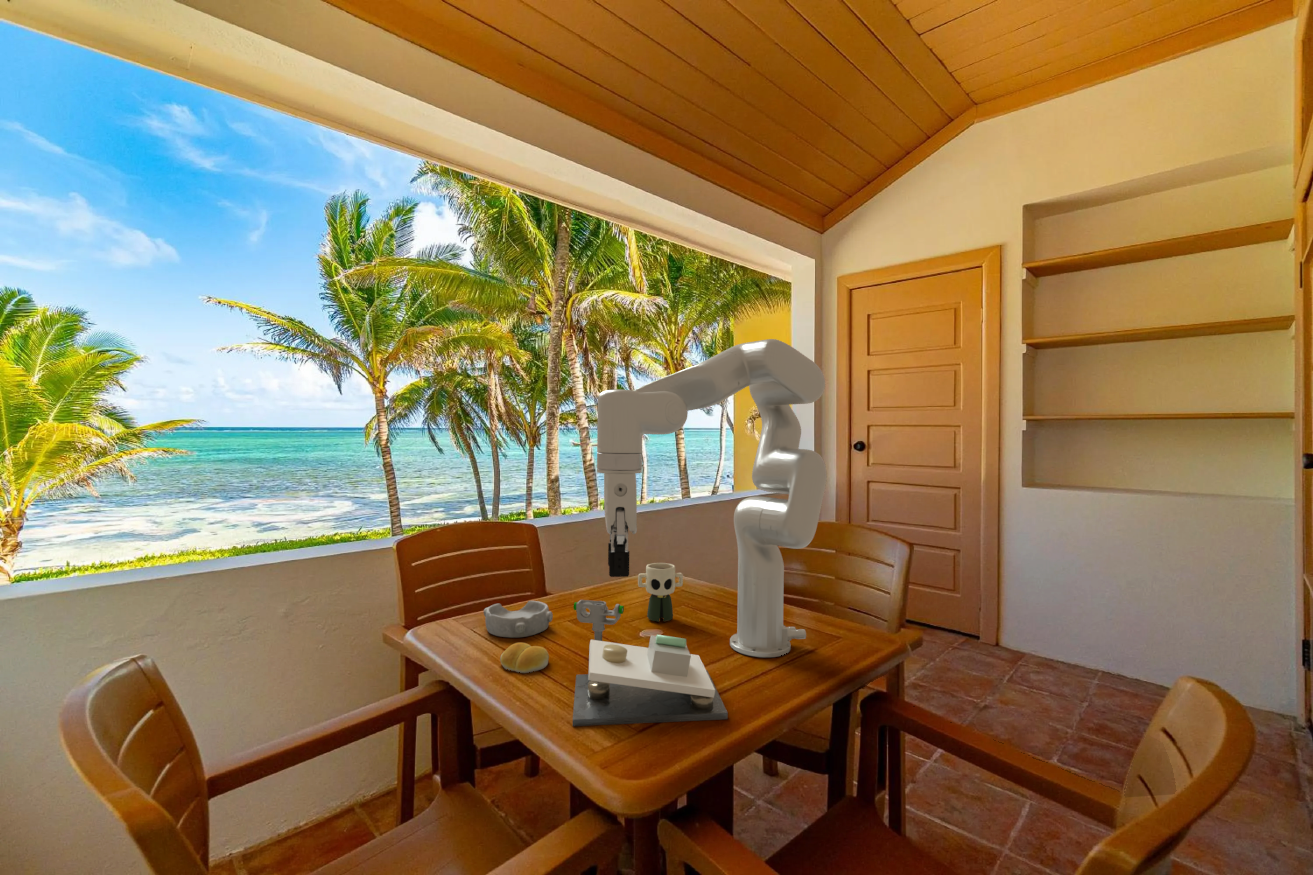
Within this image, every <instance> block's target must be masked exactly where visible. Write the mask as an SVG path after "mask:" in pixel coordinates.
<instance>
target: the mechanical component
mask: <svg viewBox="0 0 1313 875" xmlns="http://www.w3.org/2000/svg"><path fill="white" fill-rule="evenodd" d="M586 609H588V610H589V611H587V610H586ZM624 609H625V607H624V605H621V604H619V603H616V604H615V606H614V608H613V609H612V610H611V609H609V607H608V606H607V602H606V601H604V600H603V601H602V600H589V599H580V600H579V601H574V603H573V610H574V611H576V619H577V620H578V622H579V623H585V624H586V623H588V624H592V628H591V630H592V631H593V632H594V639H593V640H598V641H603V632H604V631H606V628H605V625H612V626H613V625H615V624H616V623H618V621H619V620H620V618H621V614H622V615H623V614H624V611H625V610H624ZM608 616H609V617H615V618H609V617H608ZM607 617H608V618H607Z"/></svg>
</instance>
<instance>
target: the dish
mask: <svg viewBox="0 0 1313 875" xmlns="http://www.w3.org/2000/svg"><path fill="white" fill-rule="evenodd" d="M483 615H484V617H485V619H484V620H485V628H486V630H487V632H488V633H489V634H491V635H493V636H496V637H501V638H502V637H503V638H513V639H514V638H525V637H530V636H533V635H537V634H539V633H541V632H544V631H545V630H547V629H548V627H549V624H550V623H551V622H552V621H553V617H554V616H553V612H552V611H551V610H550V609H549V606H548V604H547V603H545V602H542V601H539V600H537V601H536V600H528V601H527V603H526V604H525V605H524V606H523V607H522V608H520V609H518V610H508V609H507V608H506V607H504V606H502V604H501V603H494V604H492V605H490V606H488V607H485V608H484V609H483Z"/></svg>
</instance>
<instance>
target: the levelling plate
mask: <svg viewBox="0 0 1313 875" xmlns="http://www.w3.org/2000/svg"><path fill="white" fill-rule="evenodd" d="M588 647H589V648H588V651H589V652H588V653H589V655H588V674H589V678H588V680H591V681H598V682H605V683H613V684H620V685H627V686H634V687H642V688H649V689H656V690H663V691H670V692H678V693H685V694H692V695H699V696H706V697H714V694H715V688H714V686H713V684H712V682H711V680H710V678H709V676H708V674H707V672H706V670H707V669H706V667H705V665H704V663H703V662H702V659H701V657H700V655H699V654H692V653H691V652H690V650H689V648H688V645H687V638H683V637H682V638H681V637H675V636H671V635H662V634H656V635H653V634H651V635H650V638H649V643H648V647H645V646H639V645H638V646H637V645H630V644H623V643H618V642H612V641H611V642H610V641H604V640H602V641H598V640H594V639H590V641H589V646H588Z"/></svg>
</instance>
